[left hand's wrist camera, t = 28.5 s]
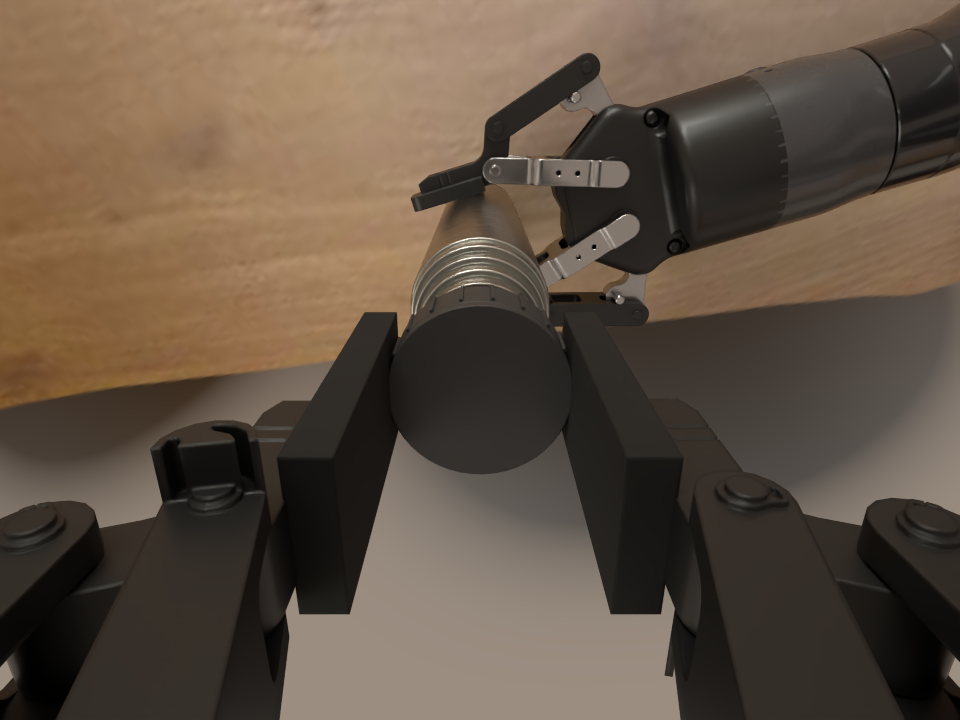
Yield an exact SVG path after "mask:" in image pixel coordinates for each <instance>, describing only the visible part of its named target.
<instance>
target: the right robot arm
mask: <svg viewBox="0 0 960 720" xmlns="http://www.w3.org/2000/svg"><path fill="white" fill-rule="evenodd" d="M599 71H600V62H599V60H598V58H597V57H596V56H595V55H593V54H591V53H584V54H582V55H580V56H579V57H577V58H576V59H574V60H573V61H571V62H570V63H568V64H567V65H566V66H564V67H563V68H561V69H560V70H558V71H557V72H555V73H554V74H553V75H551V76H550V77H548V78H547V79H545V80H544V81H542V82H541V83H539V84H538V85H537V86H535V87H534V88H532V89H531V90H529V91H528V92H526V93H525V94H523V95H522V96H521V97H519V98H518V99H516V100H515V101H513V102H512V103H510V104H509V105H507V106H506V107H505V108H503V109H502V110H500V111H499V112H497V113H496V114H494V115H493V116H492V117H490V118H489V119H488V120H487V122H486V124H485V135H484V149H483V152H482V155H481V156H480V157H479V158H478V159H477V160H476V161H473V162H470V163H467V164H464V165H461V166H458V167H454V168H451V169H448V170H445V171H442V172H438V173H435V174H432V175H429V176H428V177H427V178H426V179H424V180H423V181H422V182H421V183H420V184H419V187H420V191H421V192H420V193H417V194H415V195H413V196H412V197H411V201H412V204H413V207H414V210H415V212H417V211H421V210H425V209H428V208H431V207H435V206H438V205H441V204H444V203H448V202H451V201H454V200H458V199H461V198H464V197H466V196H470V195H474V194H477V193H481V192H484V191H486V188H485V186H488V185H491V184H528V185H537V186H551V188H552V192H553V196H554V198H555V199H556V201H557V203H558V205H559V207H560V209H561V218H560V225H561V229H562V233H563V236H561V237H560V238H558V239H557V240H555V241H554V242H552V243H551V244H549V245H548V246H547V247H546V248H545V249H544V250H543V251H542V252H541V253H539V254H538V255H536V256H535V257H536V259H537V262H538V264H539V267H540V269H541V272H542V274H543V276H544V279H545V282H546V285H547V288H548V287H549V286H551V285H552V284H554V283H555V282H557V281H559V280H561V279H565V278H568V277H570V276H571V275H573V274H575V273H576V272H578V271H579V270H581V269H582V268H584V267H585V266H587V265H589V264H590V263H592V262H593V261H596V262H599V263H602V264H605V265H607V266H610V267H613V268H616V269H618V270H621V271H624V272H625V274H624V276H623V277H622V278H621V279H620V280H618V281H614V282H610V283H608V284H607V285H606V286H605V287H604V289H603V292H549V311H550V313H549V320H550V322H551V323H552V324H553V326H563V315H564V312H596V314H597V315H598V317H599V319H600V320H601V322H602V324H603V325H604V326H639V325H642V324H644V323H645V322H646V321H647V319H648V317H649V311H648V309H647V308H646V306H645V305H644V295H645V285H646V275H647V273H649V272H651V271H653V270H654V269H655V268H656V267H657V266H658V265H659V264H660V263H662V262H663V261H665V260H666V259H668V258H670V257H672V256H676V255H680V254H684V253H687V252H691V251H694V250H698V249H701V248H705V247H708V246H712V245H715V244H719V243H722V242H726V241H729V240H733V239H736V238H740V237H743V236H747V235H751V234H754V233H758V232H761V231H765V230H768V229H771V228H775V227H779V226H782V225H786V224H789V223H793V222H796V221H800V220H803V219H807V218H810V217H814V216H817V215H820V214H823V213H826V212H828V211H831V210H833V209H836V208H838V207H840V206H842V205H845V204H847V203H849V202H852V201H854V200H857V199H860V198H863V197H866V196H868V195H871V194H875V193H878V192H882V191H885V190H889V189H892V188H896V187H899V186H903V185H906V184H910V183H913V182H917V181H920V180H925V179H928V178H932V177H935V176H939V175H942V174H945V173H948V172H951V171H953V170H956V169H959V168H960V4H958V5H957V6H955V7H954V8H952V9H951V10H949V11H948V12H946V13H944V14H943V15H941V16H940V17H938V18H936V19H934V20H933V21H931V22H929V23H926V24H924V25H921V26H917V27H914V28H910V29H907V30H904V31H902V32H898V33H895V34H892V35H889V36H885V37H882V38H879V39H876V40H873V41H869V42H866V43H863V44H860V45H857V46H853V47H850V48H847V49H842V50H839V51H835V52H830V53H825V54H819V55H813V56H807V57H801V58H797V59H793V60H789V61H785V62H782V63H779V64H776V65H773V66H770V67H760V68H756V69H753V70H751V71H749V72H747V73H745V74H744V75H741V76H738V77H735V78H731V79H728V80H725V81H722V82H719V83H715V84H712V85H709V86H706V87H703V88H699V89H696V90H693V91H690V92H687V93H683V94H680V95H677V96H674V97H671V98H667V99H664V100H661V101H658V102H654V103H651V104H648V105H645V106H641V107H630V106H626V105H622V104H613V102H612V100H611V98H610V96H609V94H608V92H607V90H606V88H605V86H604V84H603V82H602V81H601V79H600V77H599V75H598V74H599ZM557 104H560V106H561V107H562V108H563V109H564V110H565V111H568V112H573V111H578V110H580V109H588V110H589V111H591V112H592V114H593V117H592V118H591V119H590V120H589V122H588V123H587V124H586V126H585V127H584V128H583V129H582V131H581V132H580V133H579V135H578V136H577V137H576V138H575V140H574V141H573V142H572V144H571V145H570V146H569V147H568V149H567V150H566V151H565V153H564V154H563V155H562V156H534V155H532V156H513V155H508V153H509V140H510V136H511V135H513V134H514V133H516V132H517V131H519V130H520V129H522V128H523V127H525V126H526V125H528V124H529V123H531V122H532V121H534V120H535V119H537V118H538V117H539V116H541V115H542V114H544V113H545V112H547V111H548V110H550V109H551V108H553V107H554V106H556V105H557ZM568 245H569V246H568ZM577 255H579V257H576V256H577Z"/></svg>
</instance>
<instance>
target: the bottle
mask: <svg viewBox="0 0 960 720" xmlns="http://www.w3.org/2000/svg"><path fill="white" fill-rule="evenodd" d="M485 188H486V191H484V192H481V193H477V194H474V195H470V196H466V197H464V198H461V199H458V200H454V201H451V202H448V203H447V204H446V207H445V209H444V212H443V214H442V216H441V219H440V221H439V224H438V226H437V229H436V231H435V233H434V236H433V238H432V241H431V243H430V246H429V248H428V250H427V253H426V255H425V258H424V260H423V263H422V265H421V267H420V270H419V272H418V275H417V277H416V280H415V282H414V286H413V289H412V295H411V315H412V314H413V313H414V314H416V313H417V312H418V311H419V310H420V309H422V308H423V307H424V306H425V305H426V304H428V303H429V302H430V301H432V298H433V296H435V295H436V296H437V297H439V296H441V295H443V294H445V293H448V292H450V291H453V290H457V289H460V286H463V285H464V288H465V287H476V286H482V287H490V284H491V285H494V288H500V289H504V290H507V291H510V292H513V293H515V294H517V295H518V294H519V293H521V294H522V295H523V298H525V299H527V300H528V301H530V302H532V303H533V304H534V305H535V306H537V307H538V308H539V309H540V310H542V309H544V310H545V311H546V314H547V317H548V319H549V313H550V311H549V293H548V288H547V285H546V282H545V279H544V276H543V274H542V272H541V269H540V267H539V264H538V262H537V259H536V257H535V255H534V252H533V250H532V247H531V245H530V243H529V240H528V238H527V235H526V233H525V230H524V228H523V226H522V223H521V221H520V218H519V216H518V213H517V211H516V209H515V206H514V204H513V202H512V200H511V198H510V197H509V195H508V194H507V193H506V192H505V191H504V190H503V189H502V188H500V187H499V186H497V185H495V184H491V185H488V186H485Z"/></svg>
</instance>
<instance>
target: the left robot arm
mask: <svg viewBox="0 0 960 720" xmlns="http://www.w3.org/2000/svg"><path fill="white" fill-rule="evenodd" d="M397 339H398V326H397V312H365V313H364V314H363V316H362V318H361V319H360V321H359V323H358V324H357V326H356V328H355V329H354V331H353V332H352V334H351V336H350V337H349V339H348V341H347V342H346V344H345V346H344V347H343V349H342V351H341V352H340V354H339V356H338V357H337V359H336V360H335V362H334V364H333V365H332V367H331V369H330V370H329V372H328V374H327V375H326V377H325V379H324V380H323V382H322V383H321V385H320V387H319V388H318V390H317V392H316V393H315V395H314V397H313V398H312V400H311V401H282V402H280V403H279V404H277V405H275V406H274V407H272V408H270V409H269V410H267V411H266V412H264V413H263V414H262V415H261V417H260V418H259V419H258V421H257V422H256V423H255V425H254V426H253V427H252V426H251V425H249V424H247V423H242V422H238V421H210V422H204V423H198V424H193V425H190V426H187V427H184V428H181V429H178V430H175V431H174V432H172V433H170V434H168V435H166V436H165V437H163V438H161V439H159V441H157V442H156V443H155V444H154V445H153V446H152V447H151V448H150V450H151V455H152V459H153V463H154V467H155V472H156V476H157V480H158V484H159V488H160V493H161V497H162V501H163V504H162V506H161V508H160V510H159V512H158V514H157V516H156V517H154V518H149V519H145V520H141V521H136V522H131V523H125V524H120V525H115V526H109V527H104V528H99V525H98V522H97V519H96V515H95V512H94V510H93V509H92V508H91V507H89V506H88V505H87V504H86V503H80V502H75V501H59V502H46V503H40V504H38V505H36V506H35V505H32V506H29V507H25V508H23V509H21V510H19V511H18V512H15V513H13V514H11V515H8V516H6V517H3V518H1V519H0V667H1V666H2V665H3V663H4V662H5V661H6V660H7V663H8V665H9V668H10V670H11V673H12V675H13V678H12V680H11V681H10V682H9V683H8V684H7V685H6V686H5V687H4V688H3V689H2V690H1V691H0V720H279V719H280V711H281V702H282V694H283V686H284V677H285V669H286V660H287V652H288V644H289V631H288V625H287V618H286V612H285V611H286V609H287V606H288V603H289V601H290V599H291V596H292V593H293V591H294V589H295V587H296V594H297V601H298V608H299V614H350V611H351V607H352V603H353V600H354V596H355V592H356V588H357V584H358V581H359V577H360V573H361V569H362V566H363V562H364V558H365V554H366V551H367V547H368V543H369V539H370V535H371V532H372V528H373V524H374V520H375V517H376V513H377V509H378V505H379V502H380V498H381V494H382V490H383V486H384V483H385V479H386V475H387V471H388V467H389V464H390V460H391V456H392V452H393V449H394V445H395V441H396V437H397V434H398V428H397V426H396V424H395V422H394V420H393V418H392V415H391V405H390V389H389V371H390V367H391V363H392V361H393V357H391V355H392V353H393V350H394V347H395V345H396V342H397ZM562 339H563V341H564V344H565V347H566V349H567V351H566V352H565V354H566V357H567V360H568V363H569V366H570V369H571V373H572V379H571V396H570V411H569V416H568V418H567V421H566V423H565V425H564V427H563V429H562V432H563V436H564V440H565V444H566V447H567V451H568V455H569V458H570V462H571V466H572V470H573V474H574V477H575V481H576V485H577V489H578V493H579V496H580V500H581V504H582V508H583V511H584V515H585V519H586V523H587V527H588V530H589V534H590V538H591V541H592V545H593V549H594V553H595V557H596V560H597V564H598V568H599V572H600V576H601V579H602V583H603V587H604V591H605V594H606V598H607V602H608V606H609V609H610V613H611V614H661V610H662V604H663V597H664V590H665V585H666V587H667V590H668V592H669V594H670V597H671V599H672V602H673V604H674V607H675V612H674V618H673V625H672V631H671V637H670V644H669V650H668V657H667V663H666V670H665V676H671V677H672V676H673V672H674V667H675V676H676V684H677V693H678V701H679V709H680V718H681V720H960V687H958V686H957V684H956V683H955V682H954V681H953V680H952V679H951V678H950V677H949V675H948V674H949V672H950V669H951V667H952V664H953V662H954V659H955V657H956V658H957V660H958V661H959V662H960V515H958V514H955V513H953V512H950V511H948V510H946V509H943V508H942V507H941V506H938V505H935V504H932V503H929V502H926V503H924V501H920V500H915V499H899V498H888V499H882V500H877V501H875V502H873V503H872V504H871V505H870V506H868V507H867V510H866V513H865V517H864V520H863V524H862V526H860V525H855V524H849V523H844V522H839V521H833V520H828V519H823V518H818V517H814V516H810V515H806V514H803V513H802V511H801V509H800V507H799V505H798V503H797V501H796V500H795V499H794V498H793V496H792V495H791V494H790V493H789V492H788V491H787V490H786V489H784V488H783V487H781V486H780V485H778V484H776V483H775V482H773V481H771V480H768V479H766V478H763V477H760V476H758V475H755V474H751V473H746V472H743V471H742V469H741V468H740V467H739V465H738V464H737V463H736V461H735V460H734V459H733V457H732V456H731V455H730V453H729V452H728V451H727V449H726V448H725V447H724V446H723V444H722V443H721V441H720V440H717V436H716V435H715V433H714V432H713V431H712V430H711V428H708V424H707V423H706V422H705V420H704V419H703V418H702V416H701V415H700V414H699V412H698V411H697V410H695V409H693V408H692V407H690V406H689V405H687V404H685V403H684V402H682V401H680V400H679V399H648V398H647V396H646V394H645V393H644V391H643V389H642V388H641V386H640V384H639V383H638V381H637V380H636V378H635V376H634V375H633V373H632V371H631V370H630V368H629V366H628V365H627V363H626V361H625V360H624V358H623V356H622V355H621V353H620V352H619V350H618V348H617V347H616V345H615V343H614V342H613V340H612V338H611V337H610V335H609V334H608V332H607V330H606V329H605V327H604V325H603V324H602V322H601V320H600V319H599V317H598V315H597V314H596V312H564V315H563V333H562Z"/></svg>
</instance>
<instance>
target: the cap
mask: <svg viewBox="0 0 960 720" xmlns="http://www.w3.org/2000/svg"><path fill="white" fill-rule="evenodd" d="M566 351H567V349H566V347H565V344H564V341H563V339H562V336H561V334H560V332H556V330H555V328H554V326H553V324H552V323H551V322H550V320H549V319H548V317H547V314H546V311H545V310H544V309H542V310H540V309H539V308H538V307H537V306H535V305H534V304H533V303H532V302H530V301H528V300H527V299H525V298H523V295H522V294H521V293H519V294H518V295H517V294H515V293H513V292H510V291H507V290H504V289H500V288H494V285H491V284H490V287H482V286H476V287H465V288H464V285H463V286H460V289H457V290H453V291H450V292H448V293H445V294H443V295H441V296H439V297H437V296H436V295H435V296H433V298H432V301H430V302H429V303H428V304H426V305H425V306H424V307H423V308H422V309H420V310H419V311H418V312H417V313H416V314H414V313H413V314H412V315H411V317H410V320H409V323H408V325H407V327H406V328H405V330H404V332H403V334H402V337H398V339H397V342H396V345H395V347H394V350H393V353H392V355H391V357H393V361H392V363H391V367H390V371H389V389H390V405H391V415H392V418H393V420H394V422H395V424H396V426H397V428H398V430H399V431H400V433H401V434H402V436H403V437H404V439H405V440H406V441H407V442H408V443H409V444H410V446H411V447H413V448H414V449H415V450H416V451H417V452H418V453H419V454H421V455H422V456H424V457H425V458H426V459H428V460H430V461H431V462H433V463H435V464H437V465H439V466H442V467H444V468H447V469H450V470H454V471H458V472H463V473H469V474H491V473H498V472H503V471H507V470H510V469H513V468H516V467H519V466H521V465H523V464H525V463H527V462H529V461H531V460H532V459H534V458H535V457H537V456H538V455H540V454H541V453H542V452H543V451H545V450H546V449H547V448H548V447H549V446H550V445H551V444H552V443H553V442H554V440H555V439H556V437H557V436H558V435H559V434H560V432H561V430H562V429H563V427H564V425H565V423H566V421H567V418H568V416H569V411H570V396H571V379H572V373H571V369H570V366H569V363H568V360H567V357H566V354H565V352H566Z"/></svg>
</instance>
